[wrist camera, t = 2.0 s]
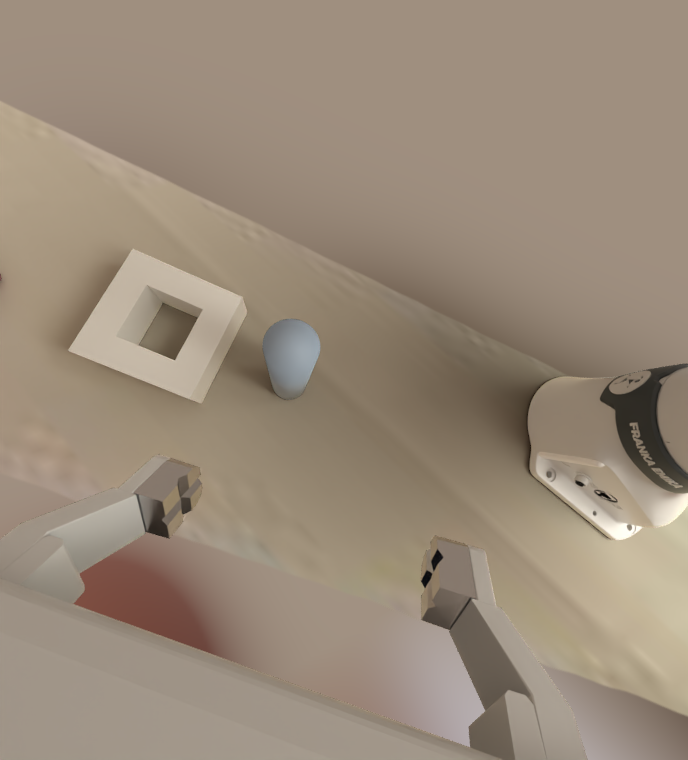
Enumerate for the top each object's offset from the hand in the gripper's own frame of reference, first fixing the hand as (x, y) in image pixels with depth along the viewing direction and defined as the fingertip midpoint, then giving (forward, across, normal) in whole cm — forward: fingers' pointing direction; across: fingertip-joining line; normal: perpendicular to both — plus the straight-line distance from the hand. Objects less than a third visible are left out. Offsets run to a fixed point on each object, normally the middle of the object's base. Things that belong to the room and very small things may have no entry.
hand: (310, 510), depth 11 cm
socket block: (+23, +23, +7) cm, 33 cm away
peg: (+24, +9, +10) cm, 28 cm away
